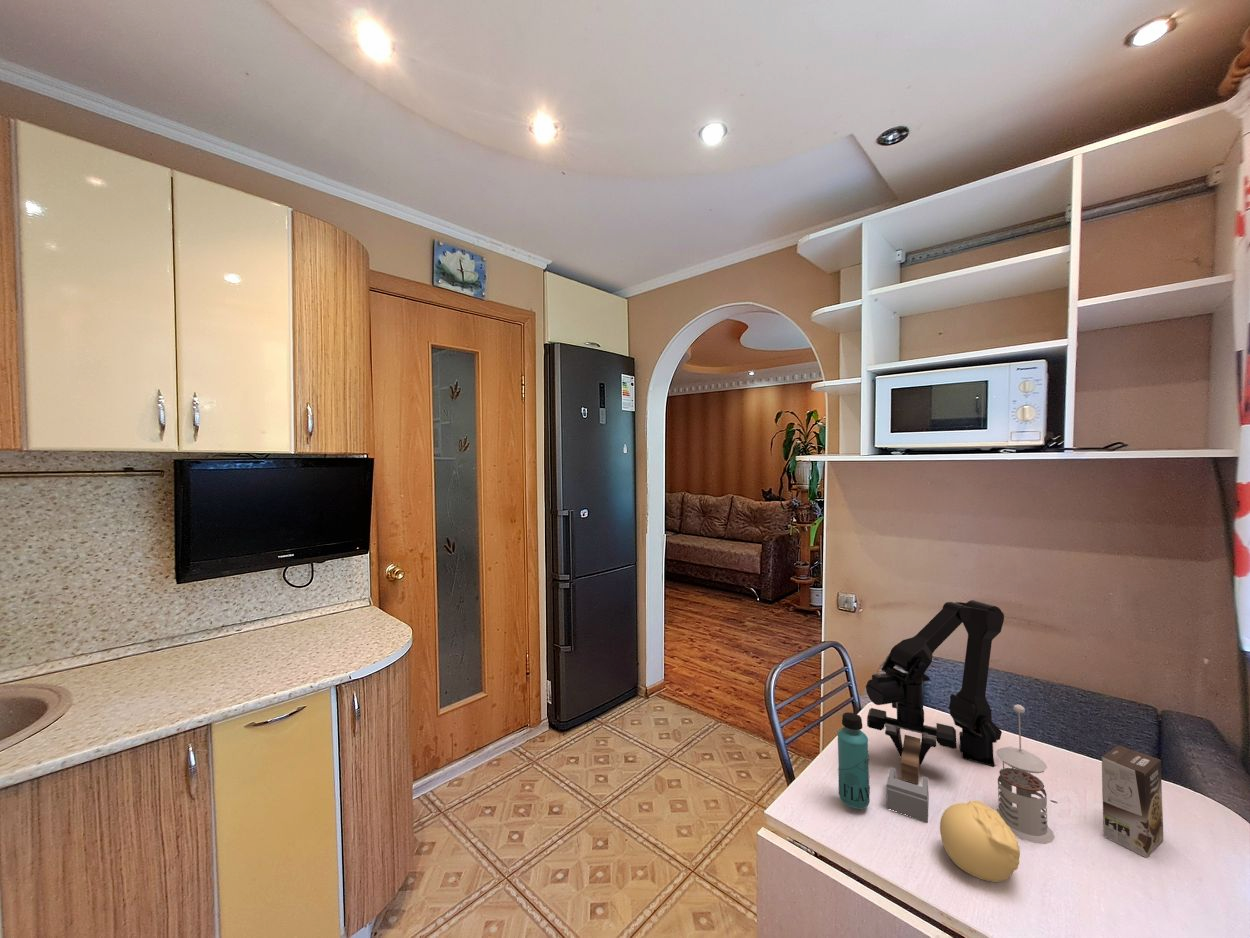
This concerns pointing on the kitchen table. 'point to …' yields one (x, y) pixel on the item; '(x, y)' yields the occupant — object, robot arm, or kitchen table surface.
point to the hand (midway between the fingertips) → (911, 761)
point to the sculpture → (979, 841)
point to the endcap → (908, 797)
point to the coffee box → (1132, 800)
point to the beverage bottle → (853, 762)
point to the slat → (910, 759)
